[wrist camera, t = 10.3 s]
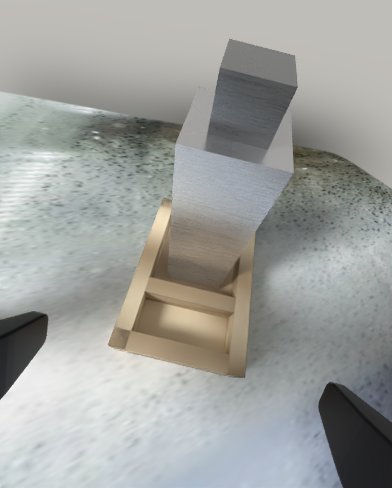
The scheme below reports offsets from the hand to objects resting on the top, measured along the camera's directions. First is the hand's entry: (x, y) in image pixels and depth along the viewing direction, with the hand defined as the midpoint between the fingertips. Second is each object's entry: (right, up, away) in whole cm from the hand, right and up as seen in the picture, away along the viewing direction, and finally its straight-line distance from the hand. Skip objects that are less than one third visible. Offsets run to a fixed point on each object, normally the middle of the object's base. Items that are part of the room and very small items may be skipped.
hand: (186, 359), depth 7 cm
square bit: (0, +2, +11) cm, 11 cm away
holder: (0, +1, +11) cm, 11 cm away
